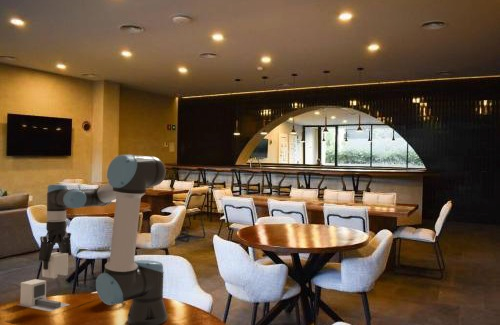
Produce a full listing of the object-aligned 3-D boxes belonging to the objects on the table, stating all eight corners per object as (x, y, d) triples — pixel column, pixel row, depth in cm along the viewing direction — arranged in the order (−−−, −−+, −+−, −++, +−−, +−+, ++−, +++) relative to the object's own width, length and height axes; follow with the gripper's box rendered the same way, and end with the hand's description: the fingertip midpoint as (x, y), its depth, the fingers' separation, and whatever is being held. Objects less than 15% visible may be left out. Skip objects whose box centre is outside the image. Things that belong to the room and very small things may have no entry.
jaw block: (68, 274, 174) (68, 253, 174) (54, 278, 168) (54, 256, 168) (55, 272, 177) (55, 252, 177) (41, 276, 171) (41, 254, 171)
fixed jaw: (20, 303, 175) (20, 282, 176) (34, 299, 182) (35, 279, 182) (32, 306, 172) (32, 284, 173) (46, 301, 179) (47, 281, 179)
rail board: (70, 307, 175) (70, 299, 175) (50, 314, 166) (50, 306, 166) (37, 301, 183) (37, 293, 183) (16, 307, 174) (17, 300, 174)
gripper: (69, 218, 184) (68, 269, 183) (29, 222, 165) (27, 279, 165) (81, 218, 181) (80, 270, 180) (42, 223, 162) (40, 281, 162)
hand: (55, 274), depth 172 cm, fingers closed on jaw block, 7 cm apart
